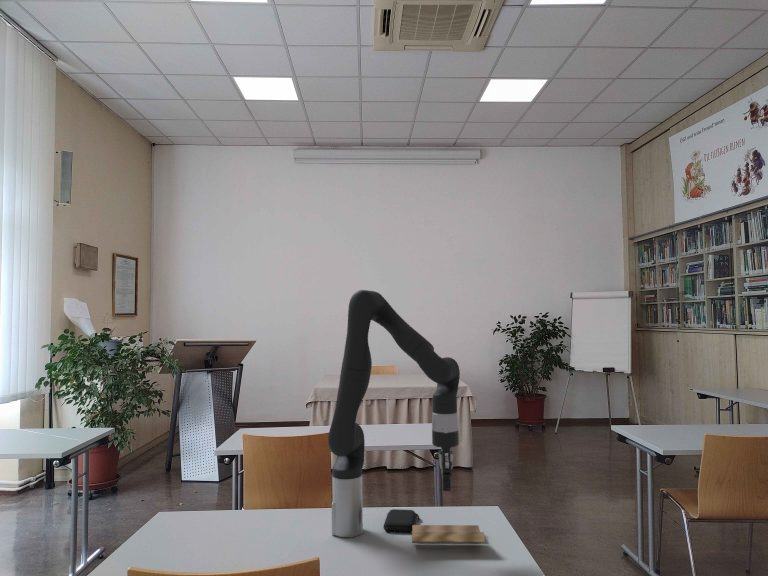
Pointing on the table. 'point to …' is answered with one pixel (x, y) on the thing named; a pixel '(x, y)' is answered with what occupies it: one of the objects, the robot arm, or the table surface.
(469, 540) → the oak plank
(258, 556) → the table surface
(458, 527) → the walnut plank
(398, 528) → the carrying case or bag
